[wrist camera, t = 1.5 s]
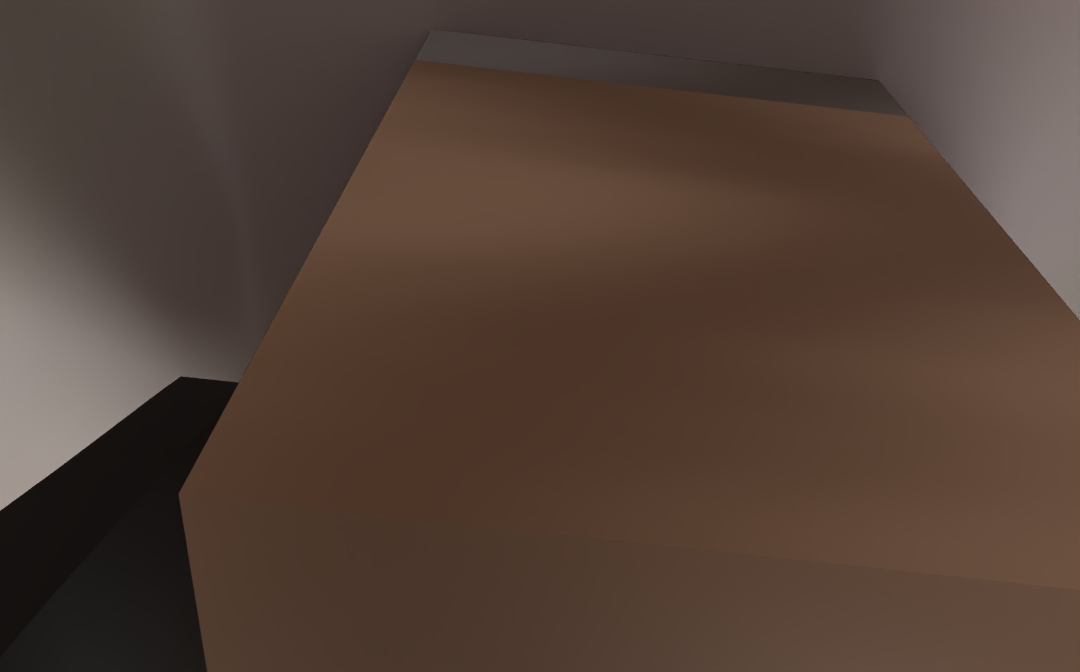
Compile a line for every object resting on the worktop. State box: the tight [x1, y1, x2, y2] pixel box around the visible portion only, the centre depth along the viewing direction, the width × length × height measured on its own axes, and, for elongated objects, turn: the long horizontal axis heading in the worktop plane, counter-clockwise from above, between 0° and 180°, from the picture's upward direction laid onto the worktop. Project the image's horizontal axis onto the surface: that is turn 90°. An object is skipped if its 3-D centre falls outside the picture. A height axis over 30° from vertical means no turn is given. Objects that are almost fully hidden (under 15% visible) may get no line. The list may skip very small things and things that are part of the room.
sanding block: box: [179, 29, 1080, 672], centre depth 8 cm, size 4×8×6 cm, turn 174°
